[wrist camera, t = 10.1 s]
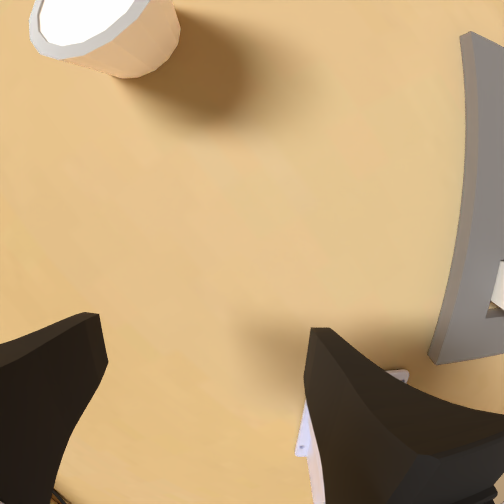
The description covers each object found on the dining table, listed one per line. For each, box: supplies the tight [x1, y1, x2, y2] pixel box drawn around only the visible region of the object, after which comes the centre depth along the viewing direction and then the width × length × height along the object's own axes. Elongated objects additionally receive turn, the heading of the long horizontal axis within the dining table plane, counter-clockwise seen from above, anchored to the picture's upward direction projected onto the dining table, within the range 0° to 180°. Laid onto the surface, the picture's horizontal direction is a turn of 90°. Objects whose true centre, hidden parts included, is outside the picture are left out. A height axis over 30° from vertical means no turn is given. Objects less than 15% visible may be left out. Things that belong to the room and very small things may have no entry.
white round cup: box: [29, 0, 181, 78], centre depth 12 cm, size 7×7×7 cm
